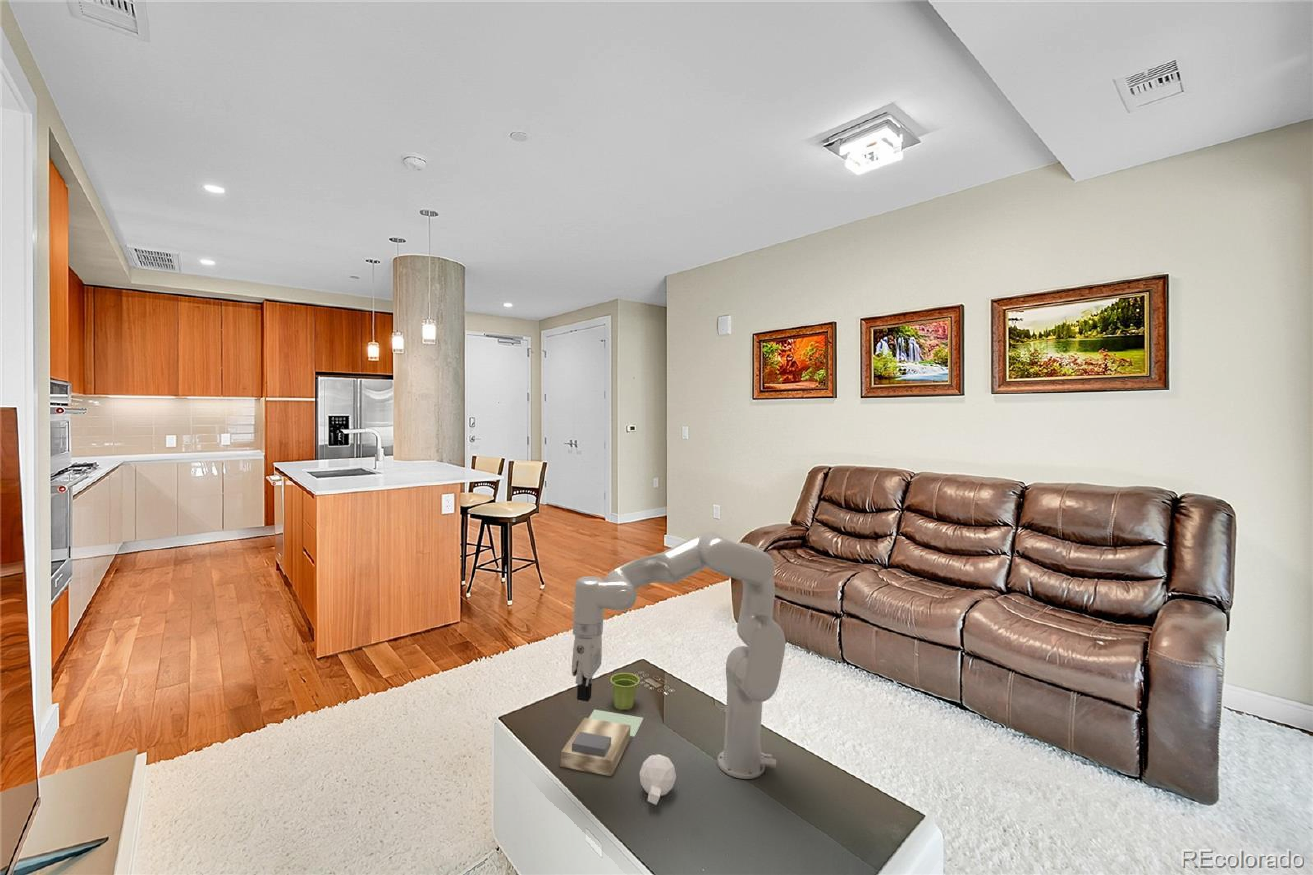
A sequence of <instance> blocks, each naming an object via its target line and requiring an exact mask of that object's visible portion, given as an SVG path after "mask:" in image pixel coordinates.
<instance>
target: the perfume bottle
mask: <svg viewBox="0 0 1313 875" xmlns="http://www.w3.org/2000/svg"><path fill="white" fill-rule="evenodd" d="M676 778H677V775H676V769H675V766H674V764H673V763H672V761H671V759H670V758H669V757H667V756H665V755H662V754H660V753H658V754H652V755H649V757H647V758H646V759H645V760H644V762H643V763H642V766H641V767H640V771H639V779H640V785H641V786H642V788H643V789H644V791H645V792H646V793H647V794H648V795H647V802H649V803H651V804H653V805H657V804H658V802H659V800H660V797H661V796H666V795H667V794H668V793H669V792H670V791H671V790H672V789H673V788H674V787H673V786H674V785H675V781H676Z"/></svg>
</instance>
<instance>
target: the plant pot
mask: <svg viewBox="0 0 1313 875" xmlns="http://www.w3.org/2000/svg"><path fill="white" fill-rule="evenodd" d="M640 680H641V679H640V677H639V676H638V675H636V674H633V673H629V672H619V673H616V674H613V675H612V676H611V677H610V682H611V686H612V694H613V704H614V705H613V706H614V708H615V709H617V710H620V711H623V710H626V711H629V710H631V709H632V708H633V707H634V702H635V697H636V692H637V688H638V686H639V684H640Z"/></svg>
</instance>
